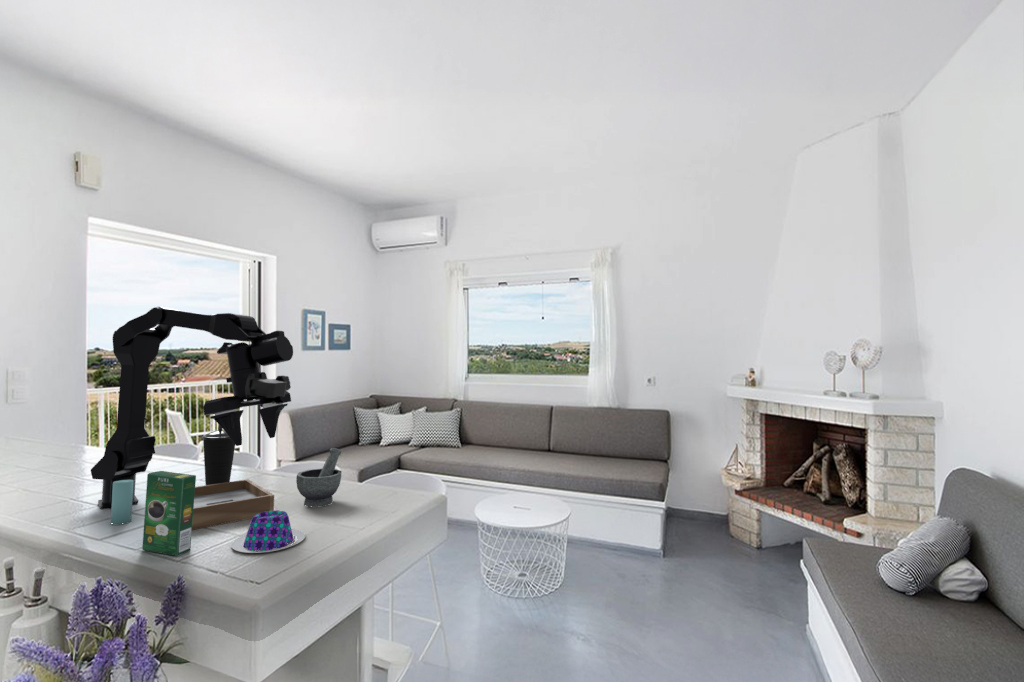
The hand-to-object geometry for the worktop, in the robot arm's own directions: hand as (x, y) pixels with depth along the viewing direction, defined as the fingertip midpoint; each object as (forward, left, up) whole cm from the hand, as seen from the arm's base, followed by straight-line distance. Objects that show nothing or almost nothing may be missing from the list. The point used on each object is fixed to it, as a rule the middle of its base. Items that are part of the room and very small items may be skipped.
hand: (256, 441), depth 103 cm
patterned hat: (+20, -3, -16) cm, 25 cm away
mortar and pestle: (+2, +14, -15) cm, 21 cm away
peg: (-10, -21, -15) cm, 28 cm away
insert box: (-5, -5, -15) cm, 17 cm away
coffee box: (+13, -17, -15) cm, 26 cm away
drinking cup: (-24, -1, -15) cm, 29 cm away
